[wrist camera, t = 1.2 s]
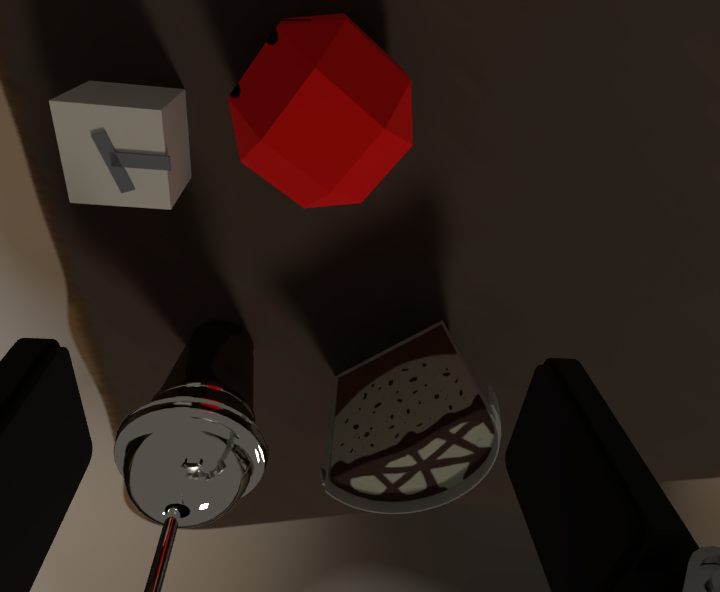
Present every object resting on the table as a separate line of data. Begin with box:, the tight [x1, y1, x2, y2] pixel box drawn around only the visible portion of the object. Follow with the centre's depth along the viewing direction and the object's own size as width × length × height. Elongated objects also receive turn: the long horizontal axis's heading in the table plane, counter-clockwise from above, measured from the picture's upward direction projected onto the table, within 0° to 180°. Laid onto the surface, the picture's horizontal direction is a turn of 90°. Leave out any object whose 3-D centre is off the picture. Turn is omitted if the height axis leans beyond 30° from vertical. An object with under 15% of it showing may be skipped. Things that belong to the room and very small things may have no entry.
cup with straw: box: [114, 320, 269, 592], centre depth 30 cm, size 8×9×20 cm
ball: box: [228, 13, 413, 208], centre depth 26 cm, size 8×8×8 cm
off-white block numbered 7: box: [49, 81, 191, 210], centre depth 28 cm, size 5×5×5 cm
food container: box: [318, 320, 501, 514], centre depth 36 cm, size 12×6×10 cm, turn 122°
